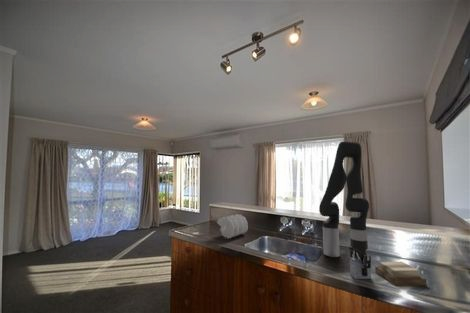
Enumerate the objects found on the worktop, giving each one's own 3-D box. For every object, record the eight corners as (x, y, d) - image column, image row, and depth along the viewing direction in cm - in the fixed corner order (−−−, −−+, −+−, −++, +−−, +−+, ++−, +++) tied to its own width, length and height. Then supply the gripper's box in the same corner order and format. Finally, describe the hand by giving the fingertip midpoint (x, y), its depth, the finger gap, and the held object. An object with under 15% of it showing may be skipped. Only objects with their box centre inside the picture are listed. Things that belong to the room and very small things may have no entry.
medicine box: (365, 275, 106) (364, 257, 107) (371, 279, 102) (370, 260, 103) (350, 275, 106) (349, 257, 107) (355, 279, 102) (354, 260, 102)
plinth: (375, 272, 109) (374, 260, 110) (401, 272, 110) (400, 260, 110) (396, 286, 95) (395, 272, 96) (426, 286, 96) (425, 272, 96)
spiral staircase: (245, 238, 181) (227, 244, 161) (231, 227, 191) (212, 231, 172) (254, 220, 178) (236, 224, 158) (239, 209, 189) (220, 211, 169)
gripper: (375, 242, 99) (378, 279, 97) (357, 234, 113) (358, 266, 111) (360, 242, 99) (362, 279, 97) (343, 234, 113) (345, 266, 111)
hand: (360, 272), depth 104 cm, fingers open, 6 cm apart
